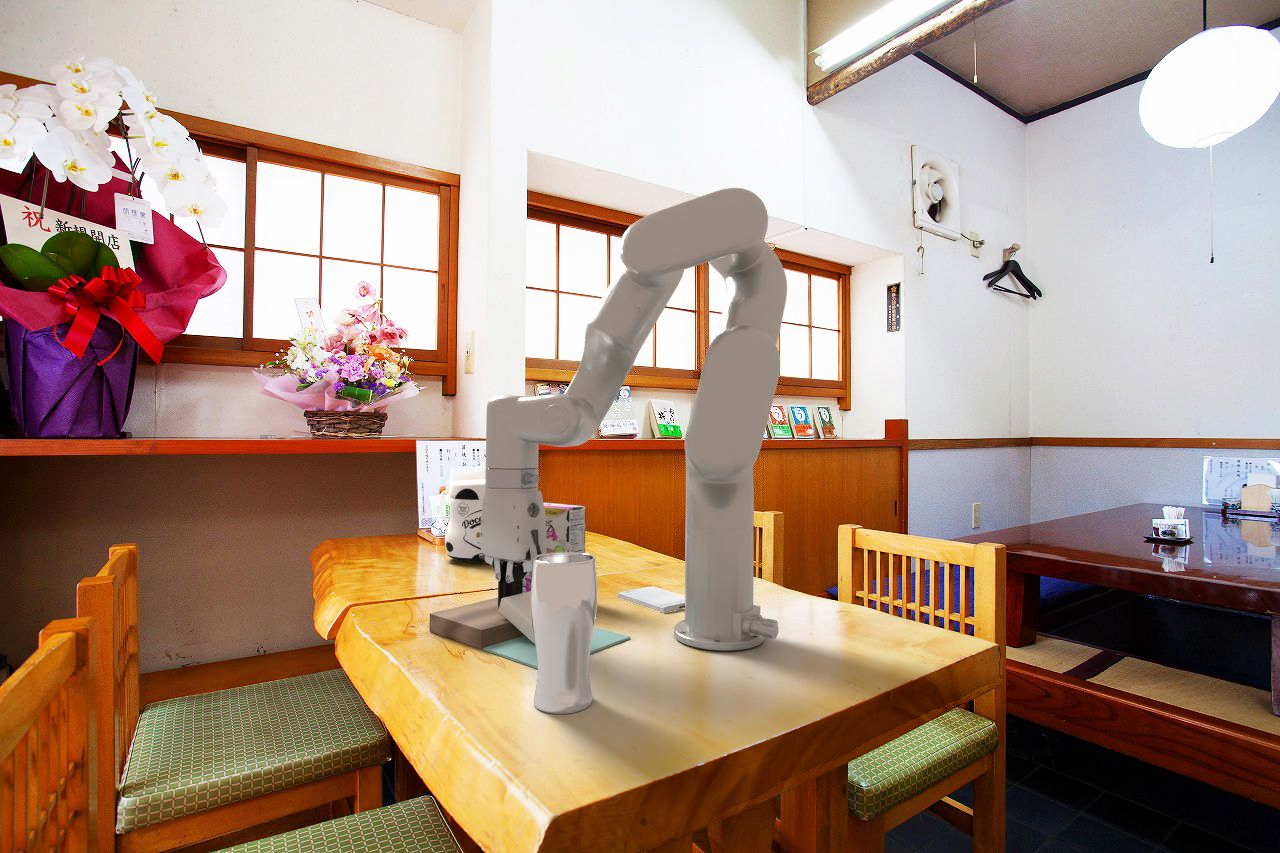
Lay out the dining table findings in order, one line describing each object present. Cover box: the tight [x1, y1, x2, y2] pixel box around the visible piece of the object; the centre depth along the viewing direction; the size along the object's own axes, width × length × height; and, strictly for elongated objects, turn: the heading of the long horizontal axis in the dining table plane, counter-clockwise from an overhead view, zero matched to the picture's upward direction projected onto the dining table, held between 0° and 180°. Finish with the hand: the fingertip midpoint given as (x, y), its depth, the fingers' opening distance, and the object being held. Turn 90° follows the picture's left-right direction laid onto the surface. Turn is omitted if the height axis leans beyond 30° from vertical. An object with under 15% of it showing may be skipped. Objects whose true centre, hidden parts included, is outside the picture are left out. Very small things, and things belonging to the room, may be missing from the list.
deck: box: [429, 597, 524, 650], centre depth 90 cm, size 12×16×2 cm
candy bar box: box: [523, 501, 587, 593], centre depth 106 cm, size 11×5×16 cm, turn 58°
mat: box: [482, 626, 631, 670], centre depth 82 cm, size 12×16×1 cm
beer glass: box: [531, 552, 599, 715], centre depth 64 cm, size 7×7×15 cm
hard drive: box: [617, 586, 685, 614], centre depth 105 cm, size 2×8×12 cm
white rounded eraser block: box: [498, 591, 535, 644], centre depth 85 cm, size 9×6×2 cm, turn 50°
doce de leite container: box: [444, 479, 487, 563], centre depth 142 cm, size 17×17×18 cm
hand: (510, 607), depth 89 cm, fingers closed
